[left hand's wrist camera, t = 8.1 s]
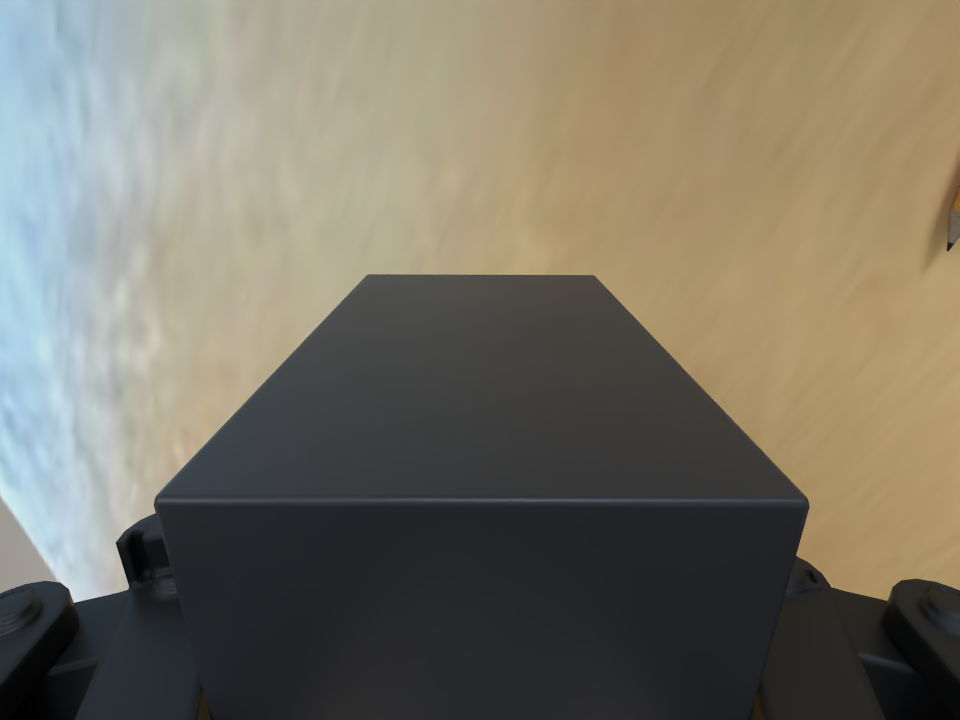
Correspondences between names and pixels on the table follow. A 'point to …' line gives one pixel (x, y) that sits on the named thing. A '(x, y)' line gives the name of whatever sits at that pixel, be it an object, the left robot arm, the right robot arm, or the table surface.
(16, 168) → the table surface
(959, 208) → the pencil
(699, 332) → the table surface
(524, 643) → the bar
